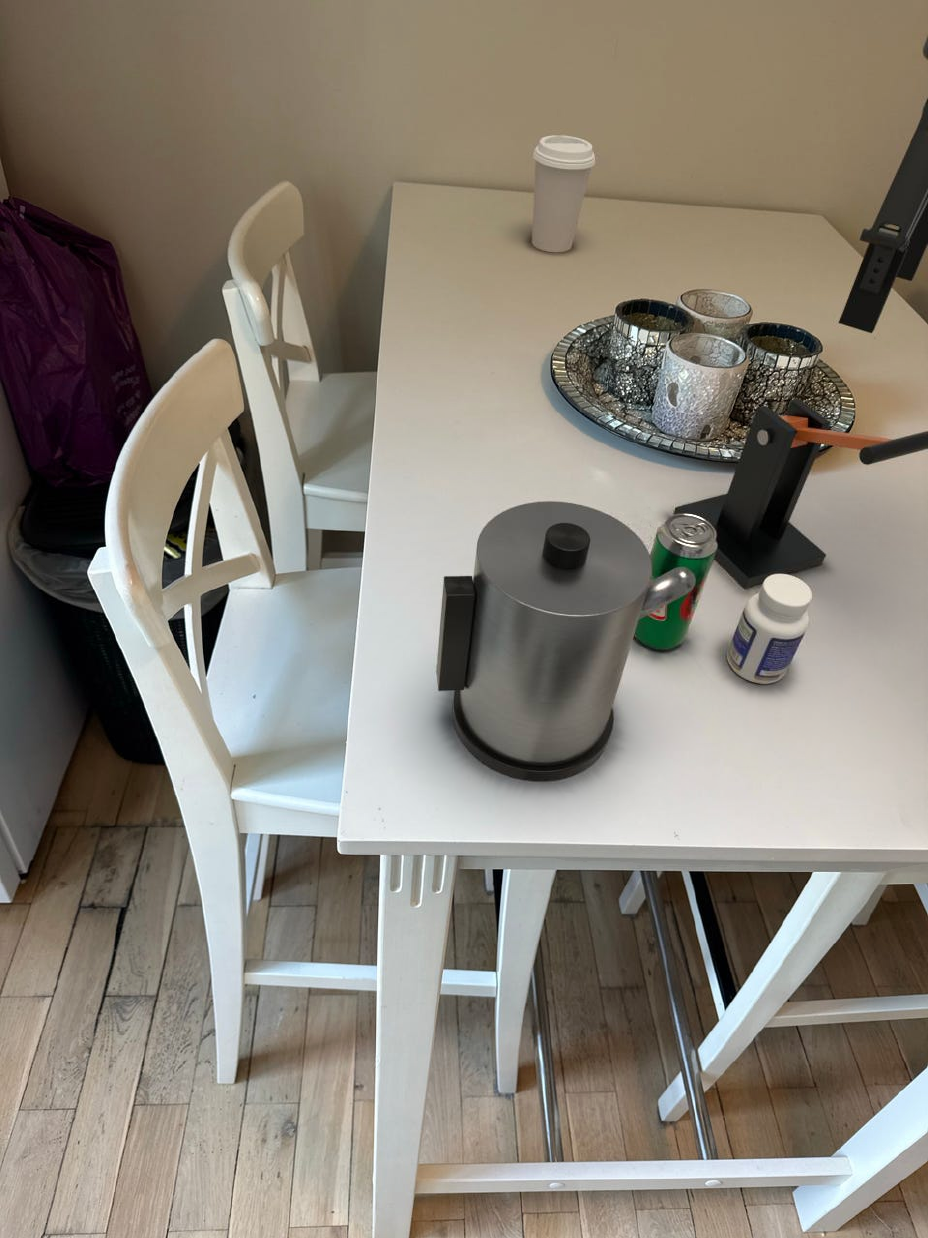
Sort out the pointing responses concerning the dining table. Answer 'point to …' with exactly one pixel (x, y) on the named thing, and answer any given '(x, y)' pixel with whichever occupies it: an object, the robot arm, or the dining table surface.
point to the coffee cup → (559, 190)
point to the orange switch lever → (858, 441)
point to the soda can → (673, 547)
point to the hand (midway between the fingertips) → (877, 300)
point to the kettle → (545, 635)
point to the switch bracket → (764, 501)
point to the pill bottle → (770, 629)
